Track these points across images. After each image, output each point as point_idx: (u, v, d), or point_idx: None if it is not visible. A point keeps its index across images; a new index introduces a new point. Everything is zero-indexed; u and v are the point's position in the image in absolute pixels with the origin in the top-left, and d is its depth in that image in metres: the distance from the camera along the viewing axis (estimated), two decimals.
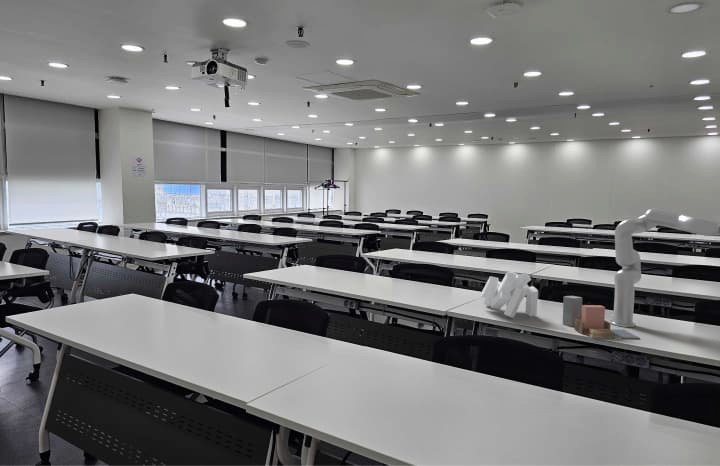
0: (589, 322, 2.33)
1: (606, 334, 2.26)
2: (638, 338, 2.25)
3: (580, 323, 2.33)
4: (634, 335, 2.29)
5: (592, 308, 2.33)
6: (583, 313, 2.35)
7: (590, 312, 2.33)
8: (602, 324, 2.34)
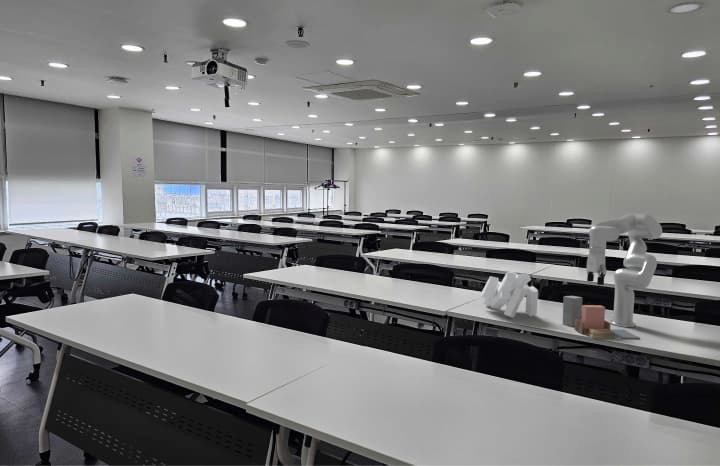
0: (589, 322, 2.33)
1: (606, 334, 2.26)
2: (638, 338, 2.25)
3: (580, 323, 2.33)
4: (634, 335, 2.29)
5: (592, 308, 2.33)
6: (583, 313, 2.35)
7: (590, 312, 2.33)
8: (602, 324, 2.34)
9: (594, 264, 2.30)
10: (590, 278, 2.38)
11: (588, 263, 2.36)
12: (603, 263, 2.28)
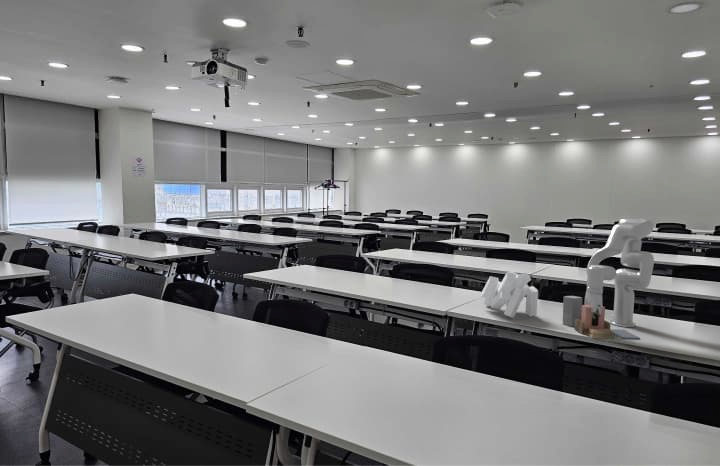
0: (589, 322, 2.33)
1: (606, 334, 2.26)
2: (638, 338, 2.25)
3: (580, 323, 2.33)
4: (634, 335, 2.29)
5: None
6: (583, 313, 2.35)
7: (590, 312, 2.33)
8: (602, 324, 2.34)
9: (591, 304, 2.32)
10: None
11: (585, 302, 2.37)
12: (600, 303, 2.30)
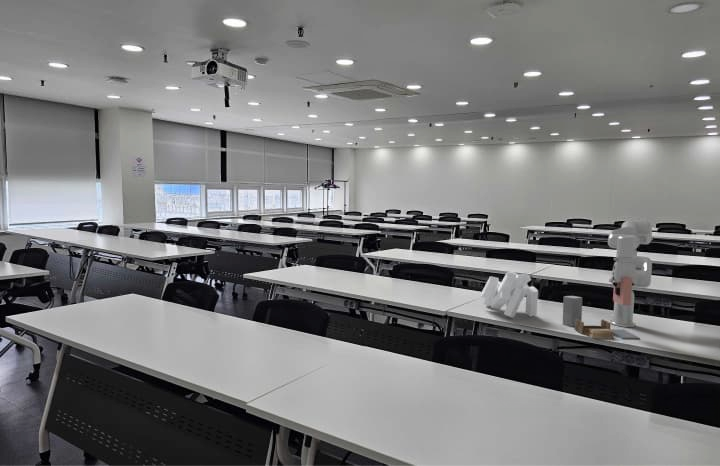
0: None
1: (606, 334, 2.26)
2: (638, 338, 2.25)
3: (580, 323, 2.33)
4: (634, 335, 2.29)
5: None
6: (627, 286, 2.25)
7: None
8: None
9: (632, 274, 2.27)
10: None
11: (620, 274, 2.27)
12: None
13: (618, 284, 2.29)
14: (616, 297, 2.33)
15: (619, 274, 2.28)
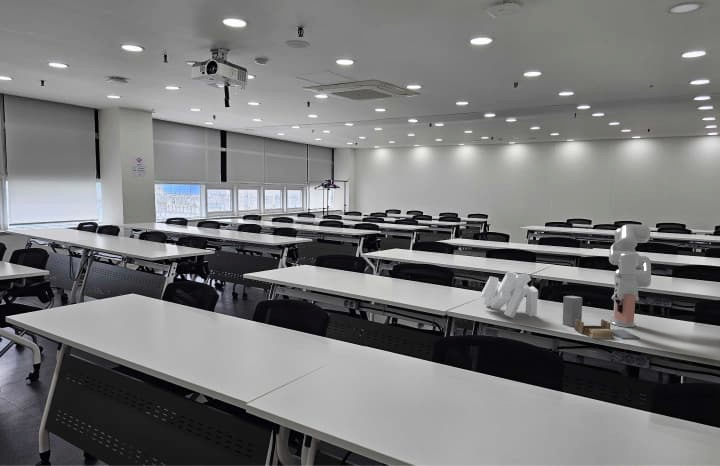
0: None
1: (606, 334, 2.26)
2: (638, 338, 2.25)
3: (580, 323, 2.33)
4: (634, 335, 2.29)
5: None
6: (630, 303, 2.25)
7: None
8: None
9: (634, 291, 2.27)
10: None
11: (623, 292, 2.27)
12: None
13: (621, 301, 2.29)
14: (618, 315, 2.33)
15: (622, 291, 2.27)
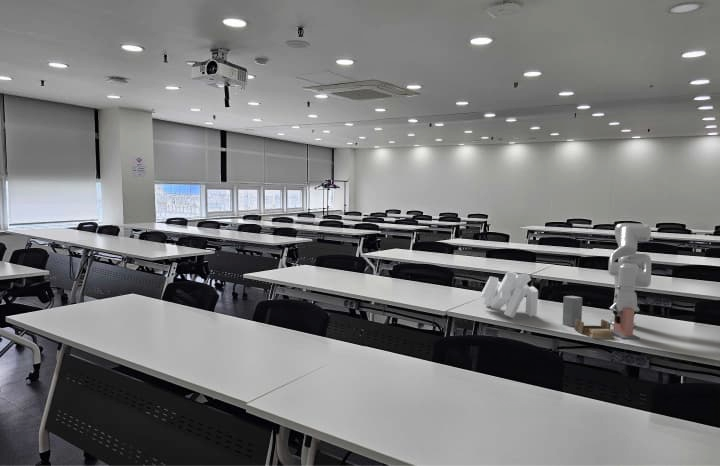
0: None
1: (606, 334, 2.26)
2: (638, 338, 2.25)
3: (580, 323, 2.33)
4: (634, 335, 2.29)
5: None
6: (629, 317, 2.26)
7: None
8: None
9: (634, 303, 2.28)
10: None
11: (622, 304, 2.28)
12: None
13: (619, 312, 2.30)
14: (617, 328, 2.34)
15: (621, 303, 2.28)
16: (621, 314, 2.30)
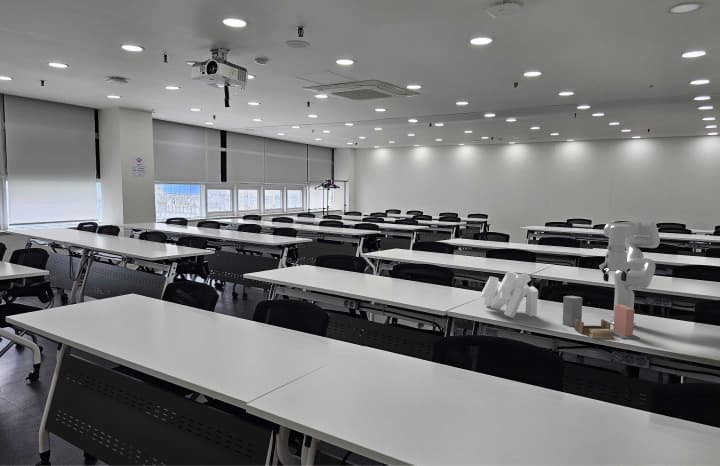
0: None
1: (606, 334, 2.26)
2: (638, 338, 2.25)
3: (580, 323, 2.33)
4: (634, 335, 2.29)
5: None
6: (629, 317, 2.26)
7: None
8: None
9: (624, 262, 2.32)
10: None
11: (614, 263, 2.31)
12: None
13: (608, 271, 2.33)
14: (617, 328, 2.34)
15: (612, 263, 2.31)
16: (621, 314, 2.30)
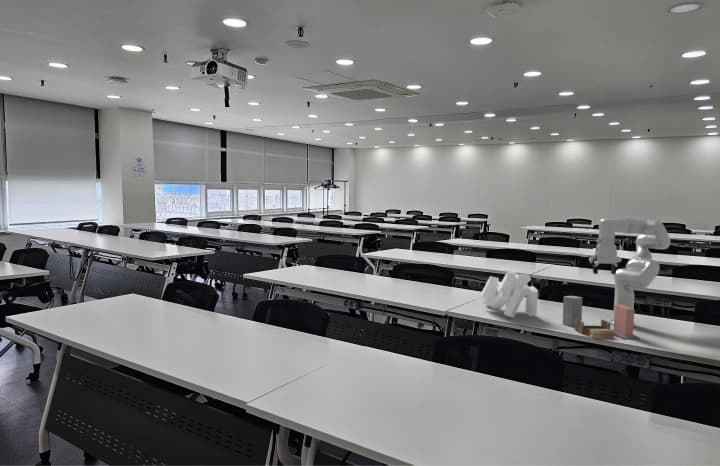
0: None
1: (606, 334, 2.26)
2: (638, 338, 2.25)
3: (580, 323, 2.33)
4: (634, 335, 2.29)
5: None
6: (629, 317, 2.26)
7: None
8: None
9: (614, 255, 2.36)
10: None
11: (603, 256, 2.36)
12: None
13: (597, 263, 2.38)
14: (617, 328, 2.34)
15: (602, 255, 2.36)
16: (621, 314, 2.30)
